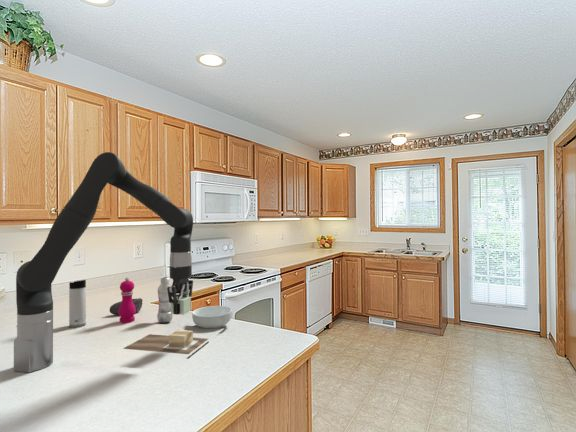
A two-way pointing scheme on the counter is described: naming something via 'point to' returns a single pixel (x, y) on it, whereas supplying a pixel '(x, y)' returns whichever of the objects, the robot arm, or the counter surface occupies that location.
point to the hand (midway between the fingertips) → (181, 311)
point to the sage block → (183, 305)
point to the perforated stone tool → (115, 307)
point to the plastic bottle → (164, 301)
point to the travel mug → (77, 304)
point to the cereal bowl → (212, 316)
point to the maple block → (180, 338)
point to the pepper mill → (127, 302)
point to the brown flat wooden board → (165, 345)
